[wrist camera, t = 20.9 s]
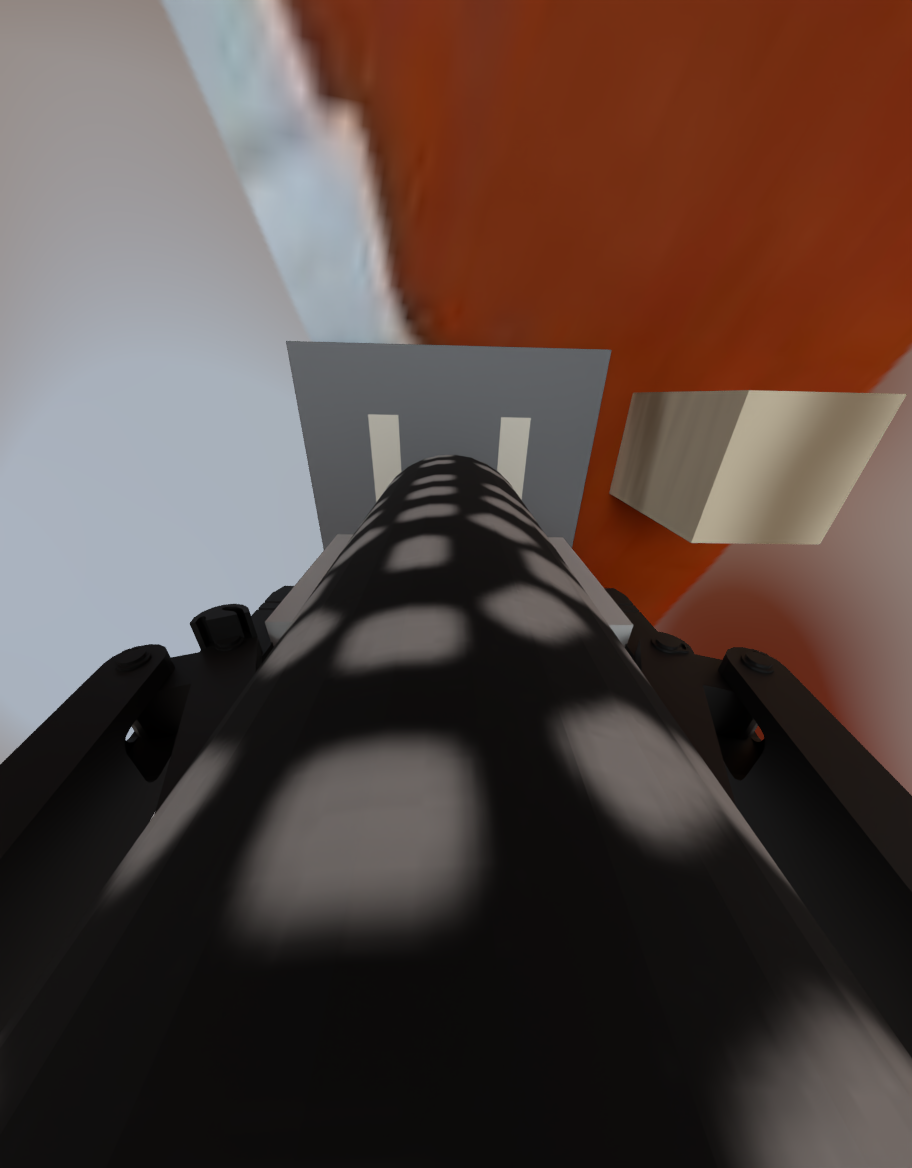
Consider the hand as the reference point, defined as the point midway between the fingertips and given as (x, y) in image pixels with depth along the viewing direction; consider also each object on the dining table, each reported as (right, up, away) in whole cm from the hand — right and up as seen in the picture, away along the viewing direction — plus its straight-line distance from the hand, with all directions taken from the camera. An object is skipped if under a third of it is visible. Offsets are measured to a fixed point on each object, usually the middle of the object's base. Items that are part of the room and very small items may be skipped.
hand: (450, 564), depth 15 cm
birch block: (+14, +8, +7) cm, 17 cm away
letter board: (0, +5, +8) cm, 9 cm away
